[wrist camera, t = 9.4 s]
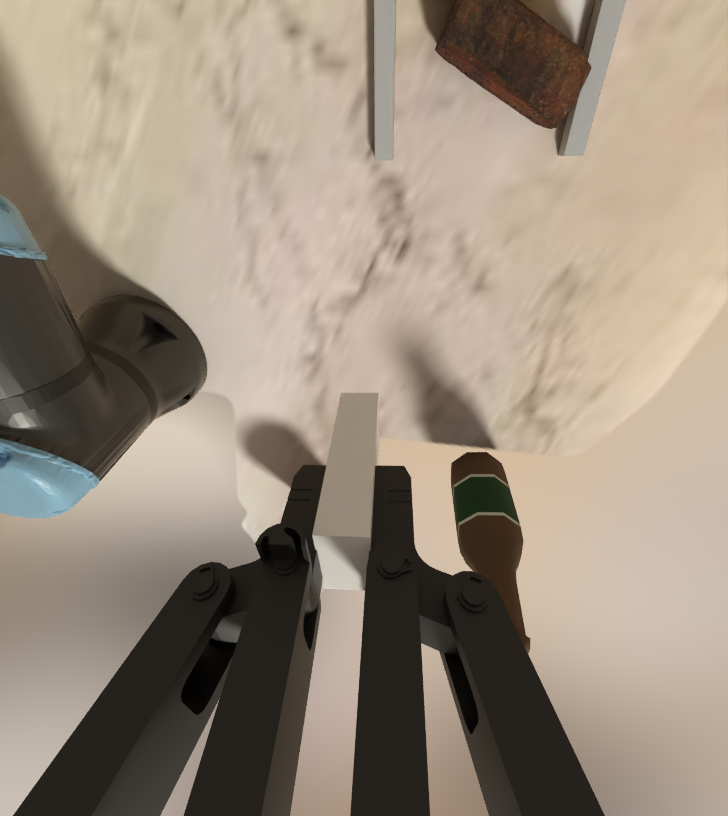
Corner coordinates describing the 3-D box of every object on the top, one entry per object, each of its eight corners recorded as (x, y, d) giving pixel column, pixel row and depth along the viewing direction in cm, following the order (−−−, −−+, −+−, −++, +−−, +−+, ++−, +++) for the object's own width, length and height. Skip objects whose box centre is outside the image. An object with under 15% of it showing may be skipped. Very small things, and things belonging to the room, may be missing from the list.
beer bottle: (462, 443, 51) (494, 627, 32) (513, 458, 52) (574, 647, 32) (439, 478, 55) (456, 658, 36) (486, 491, 56) (527, 674, 37)
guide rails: (376, 159, 32) (374, 160, 31) (375, -7, 26) (373, -14, 25) (576, 154, 31) (583, 155, 29) (623, -24, 25) (634, -33, 24)
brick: (432, 56, 28) (436, 43, 24) (462, -14, 26) (472, -40, 22) (541, 131, 30) (560, 130, 26) (578, 72, 28) (605, 62, 24)
